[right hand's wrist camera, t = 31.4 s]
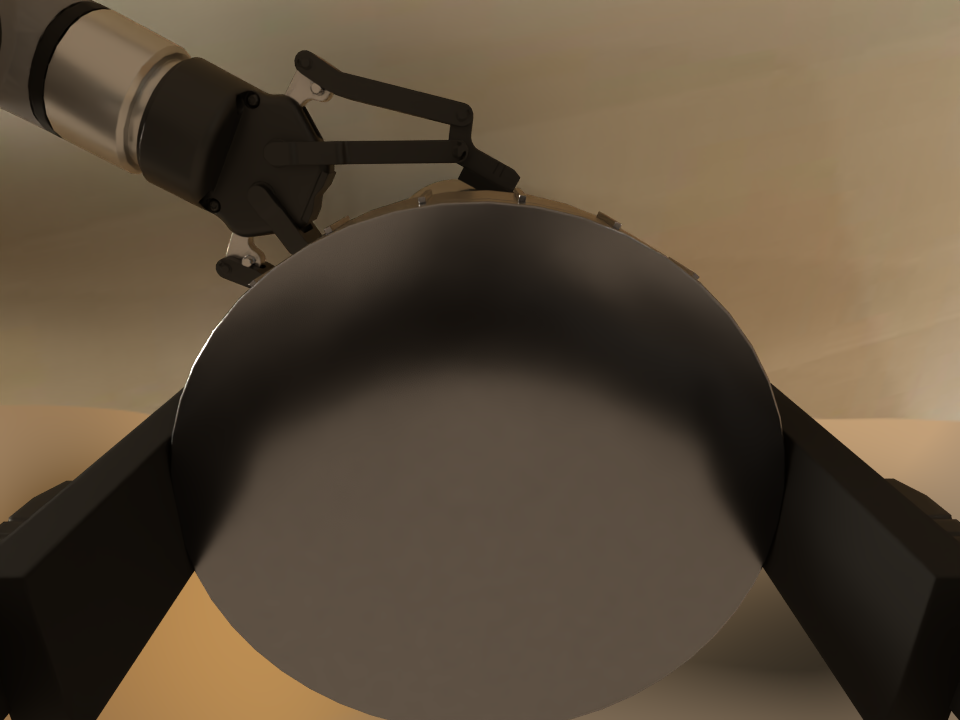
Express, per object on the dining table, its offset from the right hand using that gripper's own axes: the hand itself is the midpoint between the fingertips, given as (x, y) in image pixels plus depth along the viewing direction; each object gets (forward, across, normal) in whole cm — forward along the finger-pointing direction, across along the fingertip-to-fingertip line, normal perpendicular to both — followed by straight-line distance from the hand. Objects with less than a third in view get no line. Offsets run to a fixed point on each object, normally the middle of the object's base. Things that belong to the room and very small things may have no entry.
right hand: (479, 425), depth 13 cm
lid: (-3, 0, 0) cm, 3 cm away
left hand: (+24, -2, +3) cm, 24 cm away
